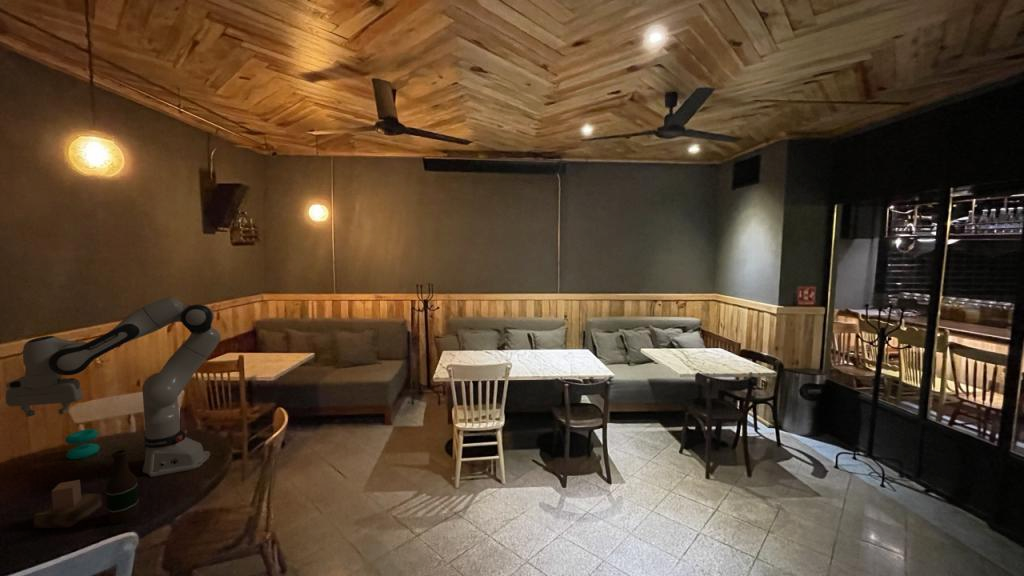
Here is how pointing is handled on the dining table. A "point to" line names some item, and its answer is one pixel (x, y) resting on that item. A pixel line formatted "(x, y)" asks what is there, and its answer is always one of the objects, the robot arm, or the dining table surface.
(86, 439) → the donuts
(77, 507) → the walnut block
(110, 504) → the beer bottle
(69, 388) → the robot arm
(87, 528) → the dining table surface
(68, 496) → the terracotta block
